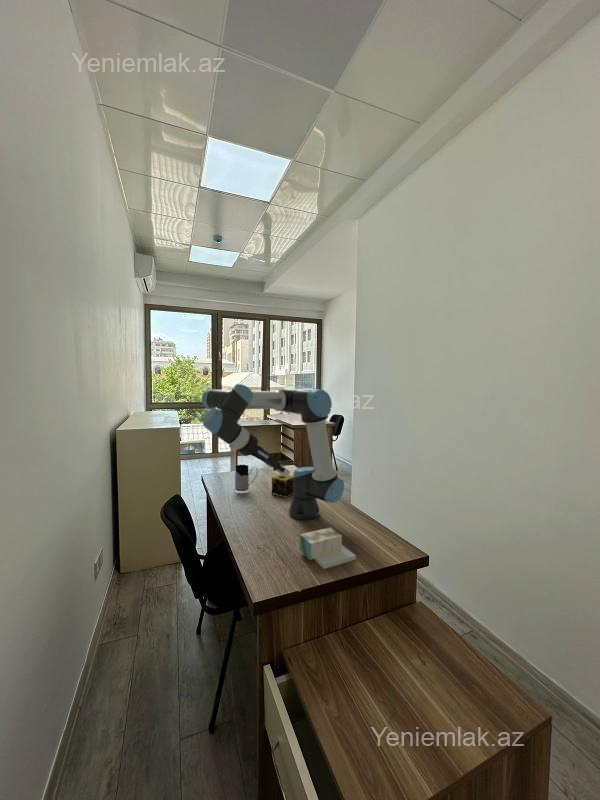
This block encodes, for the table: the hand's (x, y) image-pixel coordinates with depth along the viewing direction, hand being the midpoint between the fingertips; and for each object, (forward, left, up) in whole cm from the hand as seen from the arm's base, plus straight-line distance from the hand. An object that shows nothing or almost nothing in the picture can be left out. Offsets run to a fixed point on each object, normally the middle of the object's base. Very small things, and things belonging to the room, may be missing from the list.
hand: (287, 474), depth 125 cm
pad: (+7, +14, -30) cm, 34 cm away
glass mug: (-74, +9, -31) cm, 80 cm away
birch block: (+7, +4, -26) cm, 27 cm away
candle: (-60, +27, -31) cm, 72 cm away
